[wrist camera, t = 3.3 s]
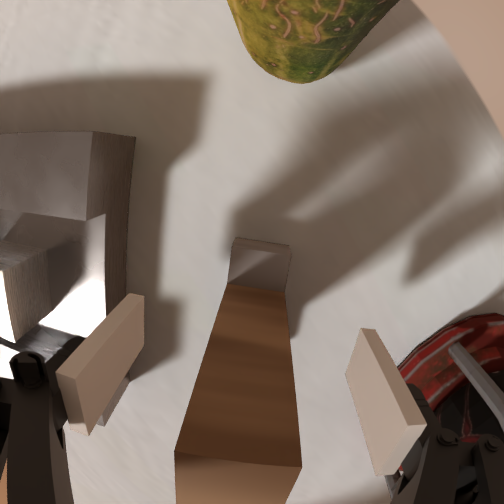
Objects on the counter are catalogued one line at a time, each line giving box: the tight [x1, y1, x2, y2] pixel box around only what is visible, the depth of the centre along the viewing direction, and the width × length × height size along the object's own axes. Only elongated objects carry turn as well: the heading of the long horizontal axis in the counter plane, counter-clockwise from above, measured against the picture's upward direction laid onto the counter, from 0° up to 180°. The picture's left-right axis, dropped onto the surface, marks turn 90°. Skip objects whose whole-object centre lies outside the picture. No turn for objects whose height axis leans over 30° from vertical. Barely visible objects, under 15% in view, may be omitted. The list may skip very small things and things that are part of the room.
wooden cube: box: [0, 240, 52, 343], centre depth 14 cm, size 4×4×4 cm
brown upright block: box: [174, 238, 302, 504], centre depth 13 cm, size 7×3×13 cm, turn 172°
